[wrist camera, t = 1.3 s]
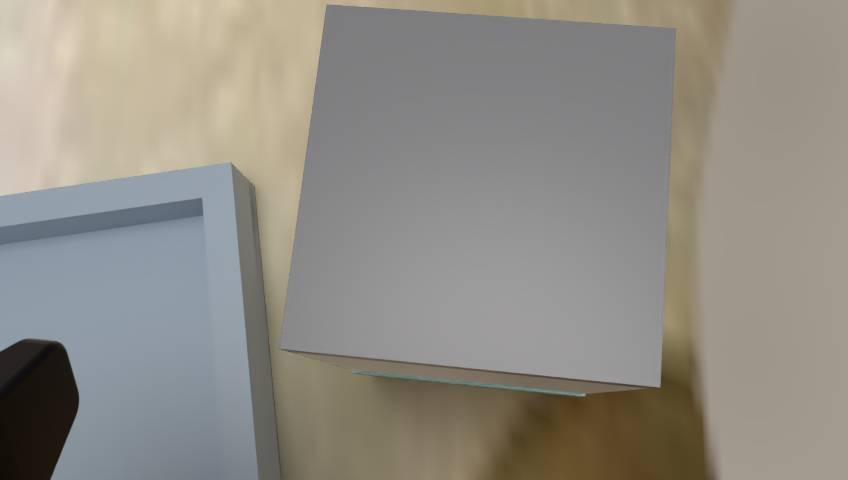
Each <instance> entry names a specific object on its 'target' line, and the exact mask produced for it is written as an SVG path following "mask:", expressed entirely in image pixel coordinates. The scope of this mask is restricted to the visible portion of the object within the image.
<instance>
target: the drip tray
mask: <svg viewBox="0 0 848 480" xmlns="http://www.w3.org/2000/svg"><path fill="white" fill-rule="evenodd" d="M27 338H34V339H43V340H53V341H58V342H60V343H62V344H63V345H64V347H65V348H66V350H67V353H68V356H69V360H70V363H71V367H72V370H73V374H74V377H75V381H76V384H77V388H78V391H79V408H78V412H77V415H76V418H75V420H74V423H73V425H72V428H71V430H70V433H69V435H68V438H67V440H66V443H65V445H64V448H63V450H62V453H61V455H60V458H59V460H58V463H57V465H56V468H55V470H54V473H53V475H52V478H51V480H281V472H280V461H279V450H278V439H277V428H276V417H275V407H274V396H273V385H272V374H271V363H270V352H269V341H268V331H267V320H266V309H265V298H264V287H263V276H262V266H261V255H260V244H259V233H258V222H257V211H256V201H255V190H254V185H253V184H252V183H251V182H250V181H249V180H248V179H247V178H246V177H245V176H244V175H243V174H242V173H241V172H240V171H239V170H238V169H237V168H236V167H235V166H234V165H233V164H232V163H224V164H218V165H211V166H204V167H197V168H190V169H183V170H176V171H170V172H163V173H156V174H149V175H142V176H135V177H128V178H122V179H115V180H108V181H101V182H94V183H87V184H80V185H74V186H67V187H60V188H53V189H46V190H39V191H32V192H25V193H19V194H12V195H5V196H0V351H2V350H4V349H5V348H7V347H9V346H11V345H13V344H14V343H16V342H18V341H20V340H23V339H27Z"/></svg>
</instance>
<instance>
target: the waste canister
mask: <svg viewBox="0 0 848 480" xmlns="http://www.w3.org/2000/svg"><path fill="white" fill-rule="evenodd" d="M675 38H676V28H661V27H647V26H632V25H618V24H603V23H589V22H574V21H560V20H545V19H530V18H516V17H501V16H487V15H472V14H458V13H443V12H429V11H414V10H400V9H385V8H371V7H356V6H342V5H327V6H326V13H325V20H324V27H323V35H322V42H321V49H320V56H319V64H318V71H317V78H316V85H315V93H314V100H313V107H312V114H311V122H310V129H309V136H308V143H307V151H306V158H305V165H304V173H303V180H302V187H301V194H300V202H299V209H298V216H297V223H296V231H295V238H294V245H293V252H292V260H291V267H290V274H289V281H288V289H287V296H286V303H285V310H284V318H283V325H282V332H281V339H280V347H279V349H282V350H285V351H289V352H292V353H296V354H299V355H302V356H306V357H309V358H313V359H316V360H320V361H323V362H327V363H330V364H333V365H337V366H340V367H344V368H347V369H351V373H355V374H362V375H371V376H380V377H389V378H399V379H409V380H418V381H428V382H438V383H447V384H457V385H467V386H476V387H486V388H496V389H505V390H515V391H525V392H534V393H544V394H554V395H565V396H575V397H585V394H588V393H600V392H612V391H624V390H636V389H648V388H660V381H661V358H662V335H663V313H664V290H665V267H666V244H667V221H668V198H669V175H670V152H671V129H672V106H673V84H674V61H675Z"/></svg>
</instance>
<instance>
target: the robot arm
mask: <svg viewBox="0 0 848 480" xmlns="http://www.w3.org/2000/svg"><path fill="white" fill-rule="evenodd" d="M78 408H79V391H78V388H77V384H76V381H75V377H74V374H73V370H72V367H71V363H70V360H69V356H68V353H67V350H66V348H65V347H64V345H63V344H62V343H60V342H58V341H53V340H43V339H34V338H27V339H23V340H20V341H18V342H16V343H14V344H13V345H11V346H9V347H7V348H5V349H4V350H2V351H0V480H51V478H52V475H53V473H54V470H55V468H56V465H57V463H58V460H59V458H60V455H61V453H62V450H63V448H64V445H65V443H66V440H67V438H68V435H69V433H70V430H71V428H72V425H73V423H74V420H75V418H76V415H77V412H78Z"/></svg>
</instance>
